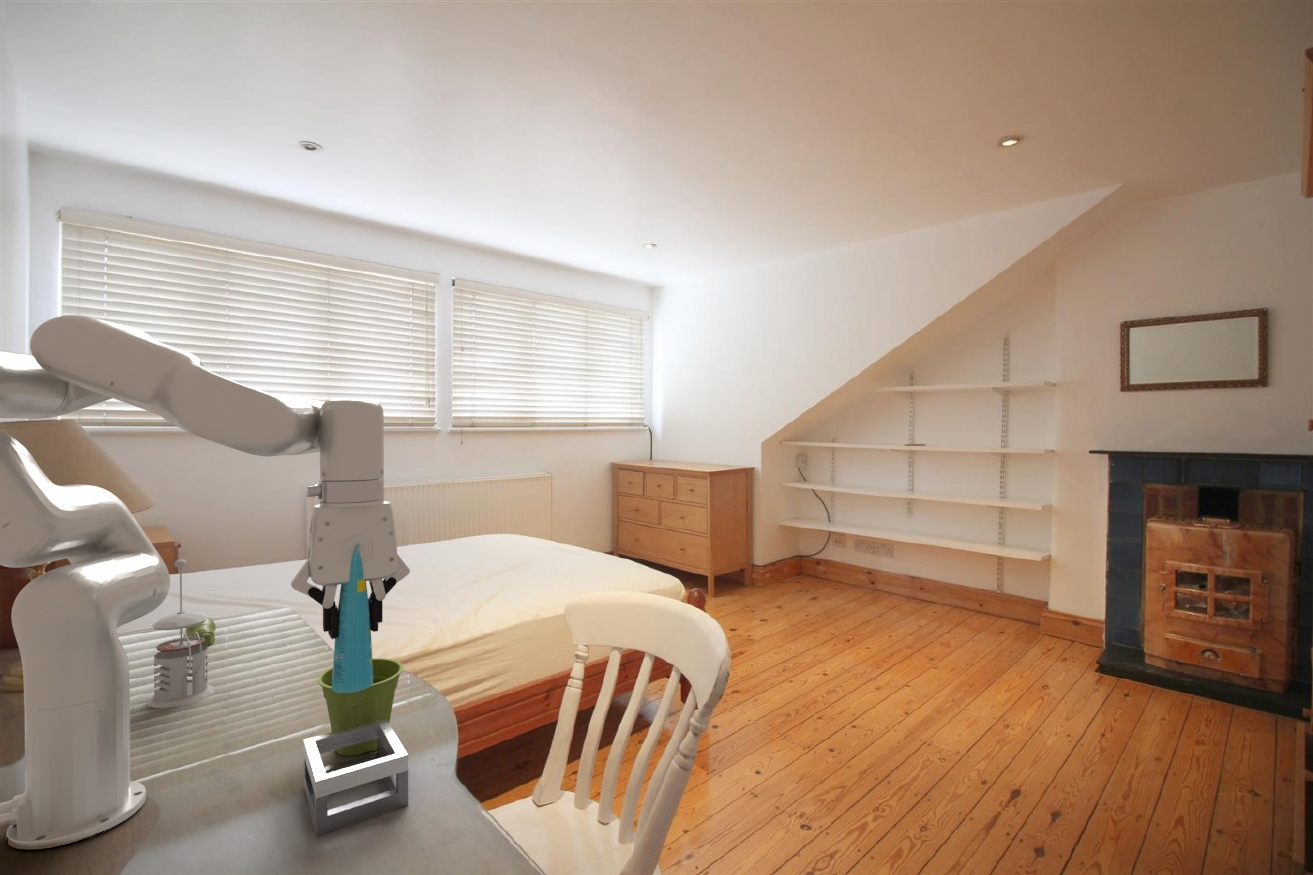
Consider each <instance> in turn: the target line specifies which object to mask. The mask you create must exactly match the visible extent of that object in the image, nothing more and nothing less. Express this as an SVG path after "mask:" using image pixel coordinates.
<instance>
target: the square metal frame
mask: <svg viewBox="0 0 1313 875" xmlns="http://www.w3.org/2000/svg"><path fill="white" fill-rule="evenodd" d="M374 739H377V749H376V751H377V752H373V753H370V754H366V755H362V756H359V757H355V758H352V759H347V760H345V761H341V762H338V763H334V764H330V765H326V766H324V764H323V760H322V758H321V755H322V754H325V753H329V752H334V751H336V750H337V749H341V748H344V747H348V746H352V745H355V744H359V743H363V742H366V741H370V740H374ZM381 779H383V780H384V782H385V784H386V786H387V788H388V790H387V791H384V792H381V793H378V794H375V795H371V796H368V797H365V798H362V799H359V800H355V801H352V802H350V803H347V804H343V805H340V806H337V807H334V808H331V809H329V808H328V806H329V805H328V796H330V795H333V794H335V793H336V794H337V793H339V792H342V791H345V790H349V789H351V788H355V787H358V786H361V785H362V786H363V785H366V784H369V783H370V782H374V781H377V780H381ZM303 790H304V794H305V798H306V801H307V805H308V808H309V809H308V810H309V814H310V816H311V821H312V825H313V829H314V832H315V837H318V836H322V835H325V834H327V833H329V832H334V831H337V830H339V829H342V828H345V827H348V826H350V825H354V824H357V823H359V822H362V821H366V820H369V819H371V818H374V817H377V816H381V815H383V814H387V813H389V812H390V813H391V812H392V811H395V810H398V809H401V808H404V807H406V806H409V754H408V752H407V750H406V748H404V745H403V744H402V742H401V741H400V739H399V737H398V736H397V734H396V733H395V731H394V729H393V727H392V725H391V724H390V723H388V721H387V719H382V720H378V721H374V722H370V723H367V724H363V725H359V726H355V727H351V728H347V729H343V730H339V731H335V732H332V731H331V732H328V733H323V734H320V735H316V736H312V737H309V738H304V739H303Z"/></svg>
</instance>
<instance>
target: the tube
mask: <svg viewBox="0 0 1313 875" xmlns="http://www.w3.org/2000/svg"><path fill="white" fill-rule="evenodd" d="M359 546H360V544H358V545H357V547H356V548H355V550H354V553H353V555H352V559H351V566H350V578H349V582H348V583H347V584H340V589H339V590H340V591H339V598H338V607H337V608H338V637H336V639H334V647H333V649H334V650H333V660H332V661H333V662H332V667H333V674H332V690H333V691H334V692H337V693H353V692H358V691H361V690H364V689H367V688H369V687H370V686H371V685H372V684H373V664H372V658H373V647H372V646H373V645H372V644H373V643H372V631H371V626H370V614H369V603H368V599H369V594H368V587H367V581H365V580H364V574H363V564H362V559H361V556H360V552H359Z"/></svg>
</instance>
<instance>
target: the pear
mask: <svg viewBox="0 0 1313 875" xmlns="http://www.w3.org/2000/svg"><path fill="white" fill-rule="evenodd" d="M216 629H217V627H216V622H215V621H214V620H213V619H212V618H210V617H209V618H208V619H207V620H206V621H205V622H203V623H201V624H199V625H196V626H192V627H189V628H185V634H186V635H187V637H192V636H193V637H194V633H195V631H196V632H197V633H198V634H199V637H203V638H205V639H206V640H205V642H204V643H203V644H202V645H207V647H208V646H211V645H213V643H215V641H216V638H215V632H216ZM196 637H198V636H197V634H196Z"/></svg>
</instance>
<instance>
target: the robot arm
mask: <svg viewBox="0 0 1313 875" xmlns="http://www.w3.org/2000/svg"><path fill="white" fill-rule="evenodd" d="M29 349H30V352H31V354H28V353H21V352H14V351H8V350H2V349H0V419H20V420H21V419H27V420H39V419H40V420H41V419H51V418H57V417H60V416H64V415H68V414H71V413H74V412H77V411H79V410H82V409H85V408H88V407H91V406H94V405H98V404H100V403H103V402H106V401H108V400H109V401H110V400H112V399H114V400H116V401H119V402H122V403H125V404H127V405H131V406H133V407H136V408H139V409H142V410H145V411H148V412H150V413H153V414H155V415H158V416H160V417H161V418H163V420H165V421H166V422H169V423H171V424H172V425H174V426H176V427H177V428H179V429H181V430H183V431H185V432H187V433H190V434H192V435H194V436H197V437H199V438H203V439H205V440H207V441H210V442H213V443H216V444H220V445H222V446H224V447H227V448H230V449H234V450H236V451H240V452H242V453H246V454H249V455H253V456H258V457H280V456H297V455H298V456H299V455H307V454H308V455H309V454H313V453H314V454H315V453H319V479H320V480H318V483H316V484H315V485H313V486H306V487H307V488H306V492H307V493H306V495H307V496H306V497H307V498H312V497H314V498H317V499H318V500H319V502H320V503H319V504H316V505H314V506H313V507H314V508H313V511H312V516H311V522H310V529H309V537H308V538H309V540H308V556H307V559H306V561H305V563H304V564H303V565H302V567H301V568H300V569H299V571H298V572H297V573H296V575H295V577H293V579H292V580H291V582H290V586H291V587H292V589H293V590H294V591H298V592H299V593H302V594H303V595H307V596H308V597H309V598H312V599H313V601H316V603H318V604H320V606H322V630H323V632H324V633H327V632H328V636H329V638H330V639H331V640H335V639H336V637H338V607H337V605H336V601H335V598H336V593H337V589H338V585H339V586H340V585H341V584H347V583H348V582H349V578H350V566H351V559H352V555H353V553H354V550H355V548H356V547H357V545H358V544H360V546H359V552H360V556H361V559H362V564H363V574H364V580H365V581H366V582H369V587H370V593H369V594H370V595H369V596H368V603H369V614H370V626H371V632H374V633H375V632H378V631H379V624H380V623H382V622H383V601H384V599H386V596H387V594H388V593H390V591H392V589H393V588H394V587H395V586H396V585H397V583H399V582H400V581H402V580H403V579H404V578H405V577H406V578H407V576H408V575H410V572H411V570H410V568H409V567H408V566H407V565H406V563H405V562H404V561H403V559H402V557H400V555H399V554H398V549H397V547H398V546H397V535H396V526H395V525H396V524H395V518H394V511H393V507H392V503H391V502H390V501H387V500H385V478H384V473H385V472H384V471H385V468H384V466H385V464H384V463H385V462H384V461H385V459H384V458H385V455H384V454H385V450H384V448H385V446H384V445H385V444H384V443H385V440H384V439H385V438H384V437H385V436H384V435H385V433H384V432H385V430H384V428H385V427H384V426H385V425H384V421H385V419H384V409H383V406H382V405H381V403H379V401H376V400H373V399H365V398H333V399H327V400H325V401H322V400H314V399H309V398H308V399H307V398H300V397H299V398H298V397H293V396H288V395H280V394H273V393H269V392H265V391H262V390H259V389H256V388H253V387H251V386H248V385H245V384H242V383H239V382H236V381H234V380H231V379H228V378H226V377H223V376H222V375H219V374H217V373H214V372H212V371H210V370H208V369H206V368H205V367H204V364H203V362H202V361H201V358H199V357H198V356H196V355H194V354H193V353H190V352H188V351H184V350H182V349H179V348H176V347H173V346H170V345H168V344H165V343H162V342H159V341H156V340H155V339H154V338H152V337H151V335H149V334H148V333H146V332H144V331H143V330H140V329H138V328H135V327H131V326H128V325H124V324H121V323H116V322H111V321H108V320H105V319H100V318H97V317H91V316H87V315H77V314H73V315H60V316H57V317H54V318H50V319H48V320H46V321H45V322H43V323H42V324H40V325H39V326H38V327H37V328H36V329H35V330H34V332H33V333H32V335H31V337H30V341H29ZM65 559H67V560H68V562H69V563H70V564H66V565H63V566H59V567H57V568H54V569H51V570H49V571H47V572H44V573H42V574H41V575H38V576H37V577H35V578H34V579H32V580H31V581H29V582H28V583H27V584H26V585H25V586H24V587H23V588H22V589H21V590H20V591H19V593H18V594H17V596H16V598H15V600H14V602H13V604H12V608H11V616H10V618H11V625H12V629H13V633H14V636H15V639H16V642H17V646H18V650H19V654H20V659H21V666H22V676H23V705H24V784H25V785H24V787H25V788H24V792H23V793H22V794H18V795H14V796H13V797H12V799H10V800H7V801H3V802H0V827H2V826H5V825H9V824H10V825H9V826H8V828H7V831H6V838H7V837H8V838H9V840H11V841H12V842H14V843H16V844H18V845H22V846H24V845H25V846H26V845H27V846H36V845H37V846H38V845H46V844H50V843H51V844H52V843H57V842H58V843H59V842H66V841H70V840H75V839H79V838H82V837H86V836H90V835H93V834H95V833H99V832H102V831H104V832H106V831H108V830H110V829H112V828H114V827H116V826H117V825H120V824H121V823H123V822H124V821H127V820H128V819H129V818H130V817H132V816H133V815H134V814H136V812H138V810H140V809H141V808H142V806H143V805H144V804H145V802H146V798H147V788H146V786H145V785H144V784H142V783H140V782H137V781H134V780H131V707H130V706H131V704H130V698H131V694H130V693H131V690H130V689H131V687H130V686H131V685H130V684H131V683H130V666H129V665H130V663H129V658H128V655H127V652H126V650H125V648H124V646H123V644H122V642H121V640H120V639H119V636H118V633H117V629H118V628H120V627H122V626H123V625H125V624H128V623H130V622H133V621H135V620H138V619H139V618H143V617H144V616H147V615H148V614H150V613H152V612H154V611H155V610H156V609H157V608H159V607H160V606H161V605H162V604H163V603H164V602H165V600H166V598H167V597H168V594H169V592H170V588H171V576H170V573H169V570H168V567H167V565H166V563H165V561H164V560H163V557H162V556H161V554H160V553H159V551H157V549H156V548H155V546H154V544H153V543H152V541H151V540H150V539H149V537H148V536H147V534H146V533H145V531H144V530H143V528H142V527H141V525H140V524H139V522H138V521H137V520H136V518H135V515H133V514H132V512H131V510H129V507H128V506H127V505H126V504H125V503H124V502H123V501H122V499H120V498H119V497H118V496H116V495H115V494H113V493H112V492H111V491H109V490H108V489H107V490H106V489H105V488H102V487H99V486H96V485H91V484H81V483H80V484H79V483H78V484H69V485H68V484H65V485H57V484H55V483H53V482H52V481H51V480H50V479H49V478H48V476H47V475H46V474H45V473H44V471H43V470H42V469H41V467H40V466H39V465H38V463H37V461H36V460H35V458H34V456H33V455H32V453H30V451H29V450H28V449H27V448H26V447H25V446H24V445H23V444H22V443H20V442H19V441H18V440H17V439H16V438H14V437H13V436H11V435H10V434H9V433H7V432H6V431H4V429H1V428H0V566H3V567H6V568H15V569H16V568H27V567H28V568H29V567H34V566H39V565H43V564H49V563H51V562H57V561H61V560H65ZM309 578H310V579H311V581H312V582H313V584H315V585H313V584H311V583H309V582H308V580H309ZM317 585H318V586H322V587H321V588H319V587H317ZM107 829H108V830H107ZM105 830H106V831H105ZM102 833H103V832H102ZM99 834H100V833H99Z"/></svg>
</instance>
